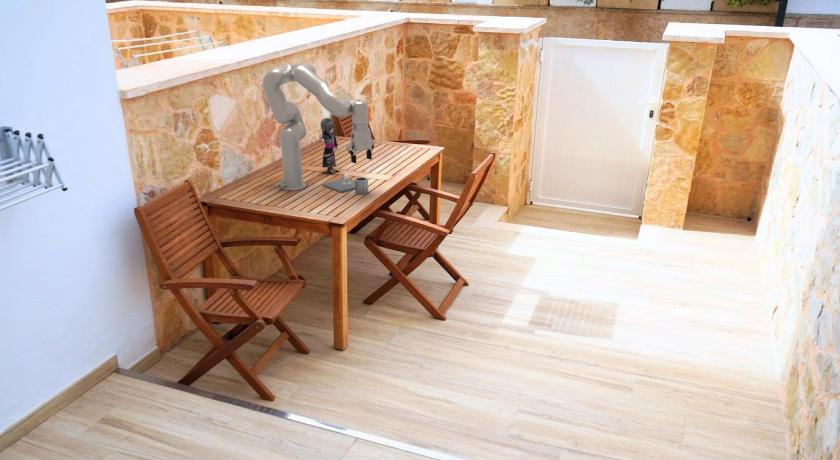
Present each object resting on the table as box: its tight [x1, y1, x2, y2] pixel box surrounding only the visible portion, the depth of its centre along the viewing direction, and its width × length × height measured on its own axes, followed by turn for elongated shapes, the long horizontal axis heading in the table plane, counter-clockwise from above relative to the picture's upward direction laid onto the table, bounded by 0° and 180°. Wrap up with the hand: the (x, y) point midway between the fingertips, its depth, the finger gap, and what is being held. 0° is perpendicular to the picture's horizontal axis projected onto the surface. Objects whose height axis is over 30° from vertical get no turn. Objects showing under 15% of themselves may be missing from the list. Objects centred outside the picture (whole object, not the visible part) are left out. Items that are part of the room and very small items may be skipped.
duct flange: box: [321, 173, 355, 194], centre depth 346 cm, size 16×16×6 cm
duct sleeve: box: [354, 176, 369, 196], centre depth 336 cm, size 7×6×7 cm
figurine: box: [320, 117, 339, 175], centre depth 361 cm, size 17×8×30 cm, turn 168°
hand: (361, 160), depth 331 cm, fingers open, 9 cm apart
